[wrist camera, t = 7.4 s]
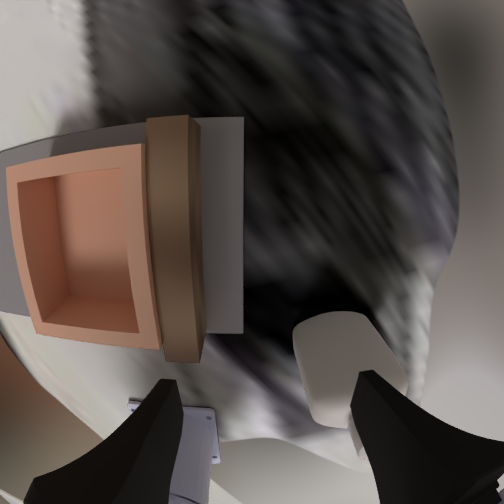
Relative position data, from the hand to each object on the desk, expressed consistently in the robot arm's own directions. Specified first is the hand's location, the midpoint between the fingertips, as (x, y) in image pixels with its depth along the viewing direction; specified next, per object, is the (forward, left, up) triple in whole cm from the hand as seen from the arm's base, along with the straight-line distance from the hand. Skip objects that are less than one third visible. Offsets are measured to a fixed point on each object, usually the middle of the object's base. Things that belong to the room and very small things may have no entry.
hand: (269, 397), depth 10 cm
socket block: (+4, +10, -9) cm, 14 cm away
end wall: (+4, +5, -9) cm, 11 cm away
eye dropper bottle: (-3, -5, -9) cm, 11 cm away
